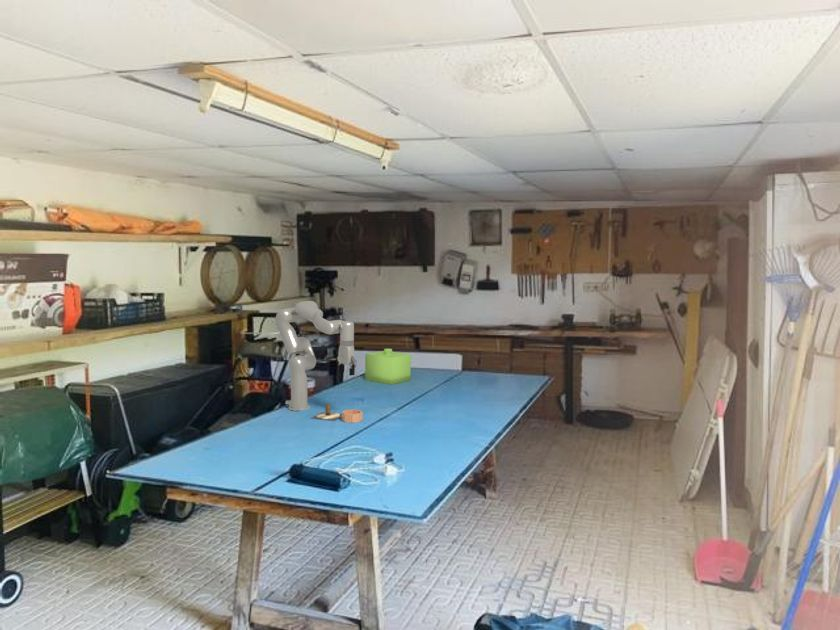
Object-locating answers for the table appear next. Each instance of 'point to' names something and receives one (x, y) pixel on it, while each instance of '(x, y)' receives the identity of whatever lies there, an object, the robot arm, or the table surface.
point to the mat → (328, 420)
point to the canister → (388, 367)
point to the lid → (328, 414)
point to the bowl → (352, 416)
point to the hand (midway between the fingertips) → (346, 373)
